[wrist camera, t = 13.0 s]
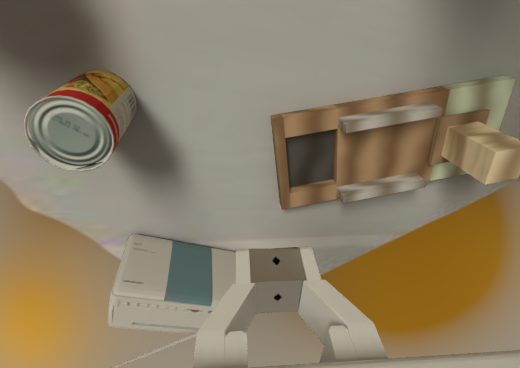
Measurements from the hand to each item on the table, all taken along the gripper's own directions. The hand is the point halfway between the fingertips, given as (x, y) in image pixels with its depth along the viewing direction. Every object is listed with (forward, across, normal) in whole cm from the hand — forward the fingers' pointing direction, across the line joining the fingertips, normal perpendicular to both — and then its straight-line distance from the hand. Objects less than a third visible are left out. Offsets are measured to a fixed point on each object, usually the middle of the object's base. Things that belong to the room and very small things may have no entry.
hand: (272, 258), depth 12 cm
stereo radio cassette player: (+32, +11, +33) cm, 47 cm away
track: (+35, -23, +12) cm, 43 cm away
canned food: (+32, +18, +4) cm, 37 cm away
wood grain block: (+33, -34, +11) cm, 49 cm away
